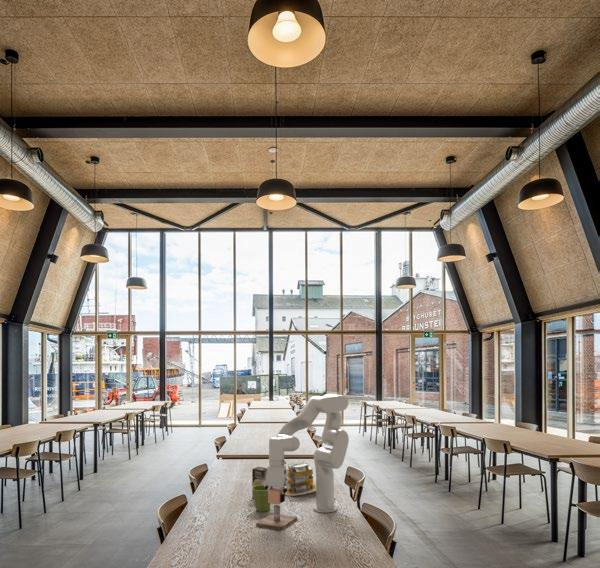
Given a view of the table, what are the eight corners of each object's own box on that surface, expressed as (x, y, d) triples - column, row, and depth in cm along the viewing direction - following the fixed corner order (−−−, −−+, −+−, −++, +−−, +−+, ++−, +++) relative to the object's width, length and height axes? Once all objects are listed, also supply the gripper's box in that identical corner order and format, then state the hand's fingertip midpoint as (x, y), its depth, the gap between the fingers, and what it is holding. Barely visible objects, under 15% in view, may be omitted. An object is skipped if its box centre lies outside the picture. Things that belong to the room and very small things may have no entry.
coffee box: (251, 497, 286) (251, 468, 288) (258, 495, 291) (258, 466, 293) (264, 500, 281) (264, 470, 283) (271, 497, 286) (270, 468, 288)
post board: (272, 516, 254) (272, 499, 255) (297, 520, 248) (297, 503, 249) (256, 526, 240) (256, 508, 241) (281, 530, 234) (281, 512, 235)
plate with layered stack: (278, 497, 286) (278, 467, 288) (284, 485, 311) (283, 457, 313) (321, 498, 284) (320, 467, 286) (323, 486, 308) (323, 458, 310)
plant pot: (277, 511, 261) (277, 489, 263) (255, 514, 257) (255, 491, 258) (270, 505, 272) (270, 483, 274) (249, 507, 268) (249, 485, 269)
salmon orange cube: (274, 499, 249) (274, 487, 250) (284, 501, 246) (284, 488, 247) (268, 502, 243) (268, 489, 244) (278, 504, 241) (278, 491, 242)
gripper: (295, 463, 247) (295, 501, 244) (265, 459, 255) (265, 496, 252) (288, 466, 240) (288, 505, 238) (257, 462, 248) (257, 500, 245)
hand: (276, 500), depth 245 cm, fingers closed on salmon orange cube, 5 cm apart
